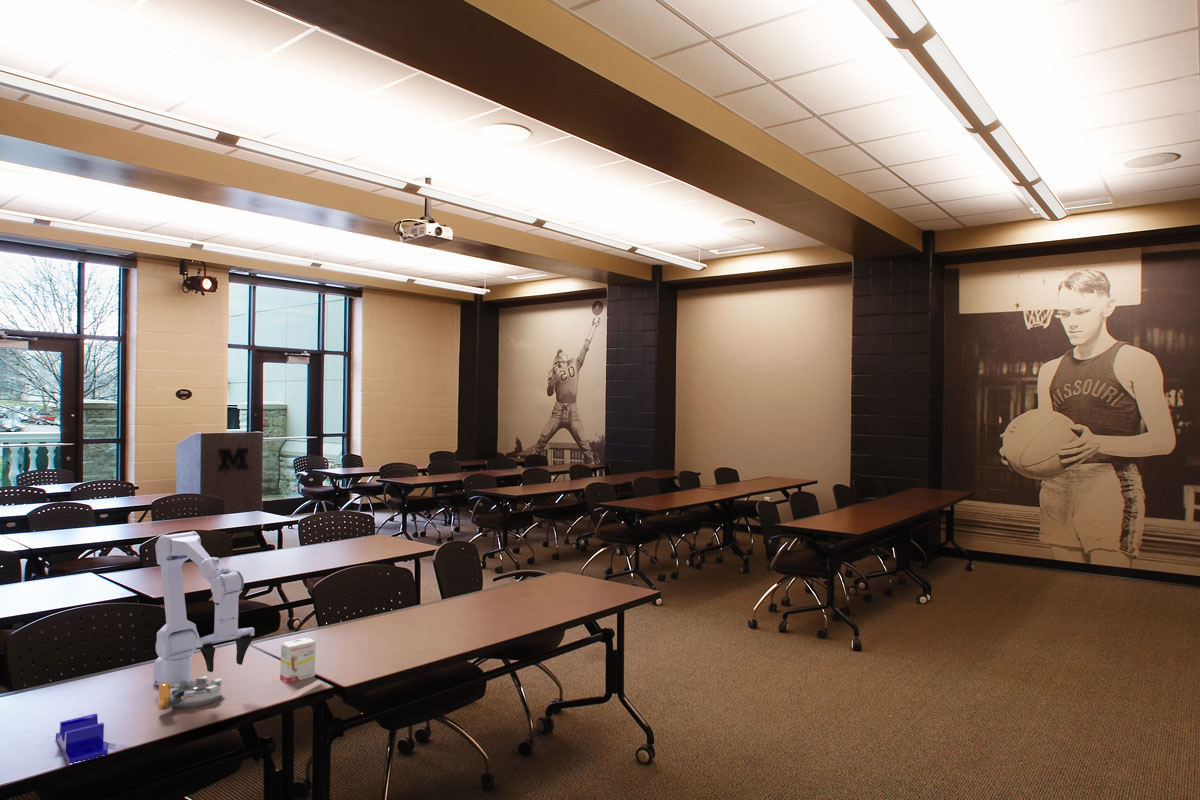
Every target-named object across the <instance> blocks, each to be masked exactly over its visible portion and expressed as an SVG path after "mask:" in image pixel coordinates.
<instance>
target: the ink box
mask: <svg viewBox="0 0 1200 800" xmlns="http://www.w3.org/2000/svg"><path fill="white" fill-rule="evenodd" d="M279 669H280V671H279V672H280V673H279V679H280V681H282V682H284V683H286V684H290V683H293V682H298V681H301V680H304V679H305V680H306V679H308V678H312V677H315V676H316V672H315V671H316V640H314V639H312V638H310V637H304V638H298V639H294V640H289V641H284V642H282V643H281V645H280V668H279Z"/></svg>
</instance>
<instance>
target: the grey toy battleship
mask: <svg viewBox="0 0 1200 800" xmlns="http://www.w3.org/2000/svg"><path fill="white" fill-rule="evenodd" d="M208 678H209V677H208V676H207V675H205V676H197V678H196V679H195V681H193V680H192V681H191V682H188V683H187V681H183V680H182V681H179V682H177V683H175V687H171V683H162V684H160V685H158V703H157V704H158V708H157V709H158V711H165V710H168V709H170V708H172V707H173V708H176V709H191V708H199V707H203V706H207V705H210V704H212V703H214V702H216V701H218V700H219V699H220V698H221V696H222V684H223V679H222V678H220V677H217V678H211V679H208Z"/></svg>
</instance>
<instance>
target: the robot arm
mask: <svg viewBox="0 0 1200 800" xmlns="http://www.w3.org/2000/svg"><path fill="white" fill-rule="evenodd" d="M154 548H155V556H156V564H157V565H159V566H160V570H161V579H162V580H161V581H162V592H163V601H164V611H165V613H164V614H165V622H166V623H165V624H164V625H163V626H162V627H161V628H160V629H159V630H158V631H157V632H156V642H155V652H156V654H157V656H158V657H157V658H156V660H155V661H154V664H153V671H152V672H153V673H152V674H153V676H152V678H153V679H152V685H156V686H159V685H160V684H162V683H171V688H175V683H177V682H179V681H182V680H183V681H187V683H188V682H192V668H193V665H192V664H193V663H192V661H193V660H192V659H193V655H194V654H195V651H196V650H197V649H199V650H200V652H201V654H202V656H203V659H204V661H205V664H206V665H205V666H206V670H207V672H209V673H214V666H215V665H214V661H215V652H216V647H214V645H213V644H218V643H222V642H227V641H230V640H231V641H232V640H235V645H236V656H235V657H236V658H235V660H236V664H238V665H239V666H240V665H241V666H242V665H243V662H244V659H245V655H246V653H247V650H248V649H249V647H250V644H251V643H252V641H253V638H252V637H253V636H255V628H254V627H252V626H251V627H243V628H239V594H240V592H241V591H242V590H243V589H244V585H245V584H244V583H245V582H244V576H243V575H242V573H241V572H240V571H239V570H230V568H228V566H226V565H225V563H223V562H222V561H221V560H220V558H219V557H215V556H212V557H211V556H210V554H209V553H208V552H207V551H206V550H205V548H204V547H203V546H202V540H201V536H200V535H199V534H198V532H196V531H194V530H193V531H191V530H190V531H188V532H181V533H172V534H164V535H163V534H162V535H160V536H159V537H158V539H157V540H156V543H155V545H154ZM187 560H191V561H192V562H194V564H195V565H197V566H199V569H198V572H199V574H200V575H201V576H202V577H203V578H204V579H205V580H206V581H207V582H208V583H209V584H210V591H211V595H212V601H213V603H214V625H213V626H214V627H213V628H214V629H213V633H212V634H208V635H205V636H202V637H200V635H199V632H198V629H197V624H196V623H194V622H192V621H190V620H188V619H187V618H188V617H187V608H186V606H187V605H186V600H185V599H186V597H185V588H184V587H185V586H184V577H183V567H182V566H183V564H184V563H185V562H186V561H187Z"/></svg>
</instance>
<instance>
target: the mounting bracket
mask: <svg viewBox="0 0 1200 800" xmlns="http://www.w3.org/2000/svg"><path fill="white" fill-rule="evenodd" d="M98 722H99V719H98V714H97V713H93V714H87V715H83V716H80V717H76V718H72V719H67V720H62V721H59V732H57V733H55V741H56V742H57V744H58V746H59V748H60V750H61V752H62V754H63V756H64V758H65V757H66V758H65V760H66V759H67V760H66V762H67V761H68V762H69V764H70V763H74V762H78V761H83V760H88V759H92V758H95V759H97V758H96V757H99V758H101V757H100V756H102V755H106V756H108V755H109V748H108V747H107V746H106V744H105V743H104V741H105V740H104V738H105V737H104V735H105V734H104V733H105V724H104V722H100V723H98ZM107 754H108V755H107ZM92 760H93V759H92ZM88 761H89V760H88ZM68 762H67V763H68ZM69 764H68V765H69Z"/></svg>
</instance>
